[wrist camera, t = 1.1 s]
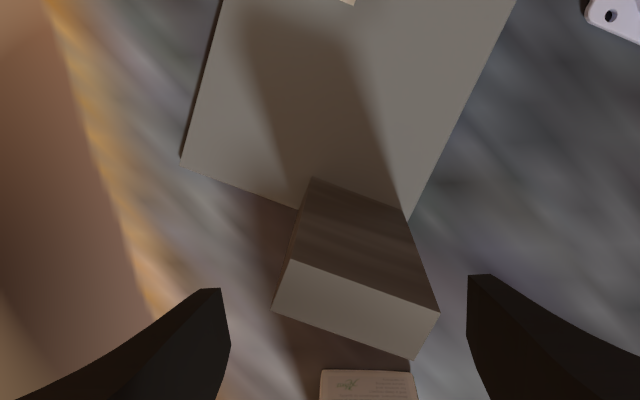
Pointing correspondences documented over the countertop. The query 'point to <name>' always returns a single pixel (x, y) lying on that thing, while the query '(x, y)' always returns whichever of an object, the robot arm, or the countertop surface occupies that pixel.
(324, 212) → the domino
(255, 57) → the mat
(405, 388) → the syrup box
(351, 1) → the domino
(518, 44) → the countertop surface
